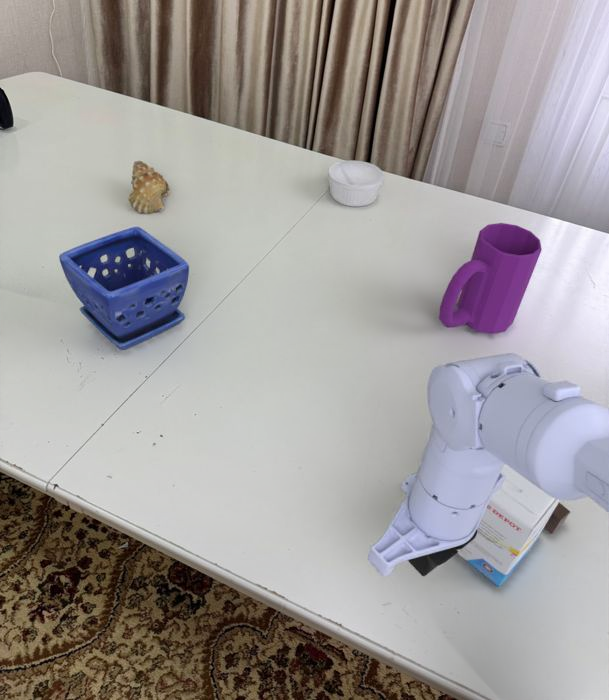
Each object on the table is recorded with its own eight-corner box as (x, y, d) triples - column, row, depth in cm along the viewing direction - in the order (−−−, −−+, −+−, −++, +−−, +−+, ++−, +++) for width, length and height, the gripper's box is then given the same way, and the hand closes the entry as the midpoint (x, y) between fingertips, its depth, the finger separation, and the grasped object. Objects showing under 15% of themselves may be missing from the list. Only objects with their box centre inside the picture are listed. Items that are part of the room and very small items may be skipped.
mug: (523, 324, 100) (555, 245, 90) (455, 357, 93) (481, 276, 83) (482, 293, 106) (508, 216, 96) (414, 322, 99) (434, 242, 89)
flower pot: (145, 285, 101) (137, 221, 93) (195, 326, 94) (191, 261, 86) (70, 319, 94) (54, 252, 85) (119, 366, 87) (106, 299, 79)
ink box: (537, 540, 71) (575, 480, 63) (498, 589, 67) (533, 531, 59) (475, 493, 75) (503, 432, 68) (434, 536, 71) (458, 475, 63)
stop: (561, 525, 73) (570, 511, 71) (551, 534, 72) (560, 520, 70) (482, 458, 80) (489, 443, 78) (472, 465, 79) (478, 450, 77)
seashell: (121, 216, 121) (111, 163, 119) (159, 211, 126) (150, 160, 124) (142, 214, 114) (132, 158, 112) (181, 209, 119) (172, 155, 117)
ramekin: (314, 194, 127) (316, 170, 123) (349, 177, 133) (352, 154, 130) (357, 216, 122) (360, 192, 118) (390, 197, 128) (395, 174, 125)
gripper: (475, 407, 54) (441, 496, 64) (352, 488, 47) (333, 575, 56) (542, 461, 50) (495, 547, 60) (418, 557, 43) (387, 638, 53)
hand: (420, 564), depth 58 cm, fingers closed
